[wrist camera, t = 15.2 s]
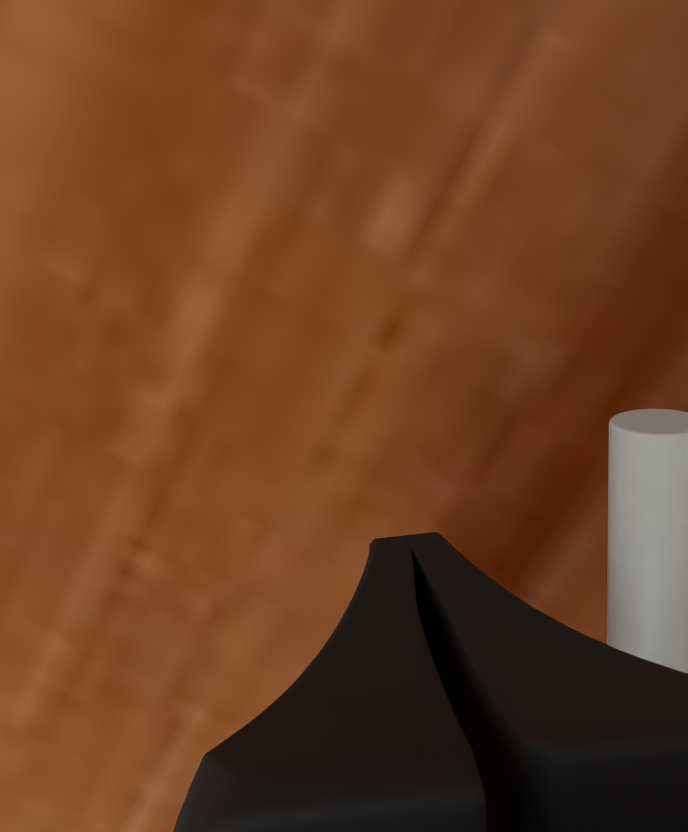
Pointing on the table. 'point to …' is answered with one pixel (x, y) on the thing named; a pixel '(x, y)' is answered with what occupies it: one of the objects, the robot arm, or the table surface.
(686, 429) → the drawer
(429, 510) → the table surface
